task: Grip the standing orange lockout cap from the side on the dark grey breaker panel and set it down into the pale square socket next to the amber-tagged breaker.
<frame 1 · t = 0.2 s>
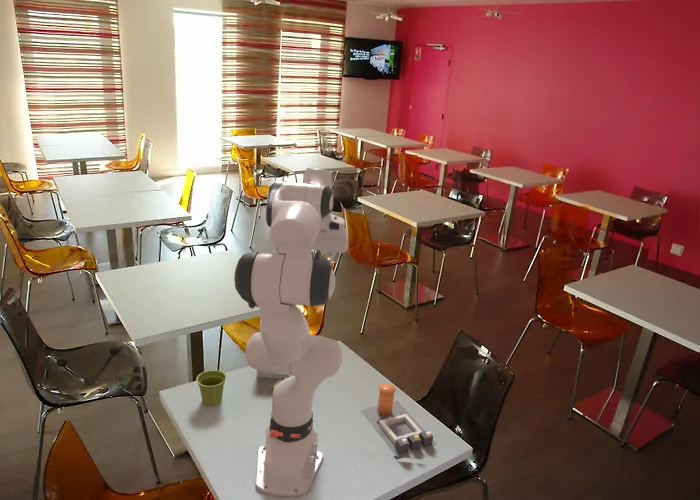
hand: (314, 263, 166), 48 cm above the table, tool pointing down, fingers open, 8 cm apart
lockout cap: (384, 411, 174), point 1 cm above the table, touching breaker panel
light bulb box: (272, 374, 192), on the table
decorated donut: (289, 393, 182), on the table
plant pot: (212, 401, 175), on the table
breaker panel: (396, 429, 167), on the table
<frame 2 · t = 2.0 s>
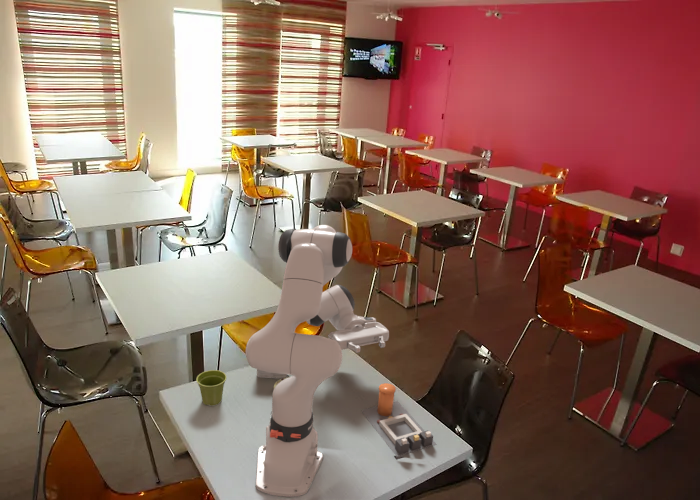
hand: (371, 348, 178), 18 cm above the table, tool horizontal, fingers open, 8 cm apart
nothing on the table moved.
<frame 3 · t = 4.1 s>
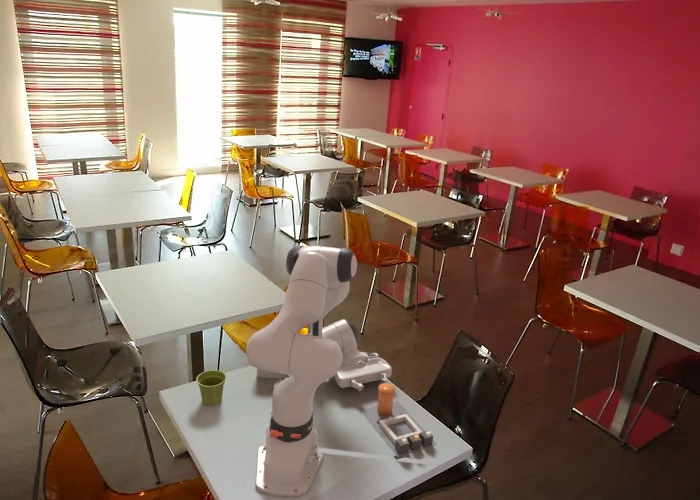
hand: (374, 385, 178), 6 cm above the table, tool horizontal, fingers open, 8 cm apart
nothing on the table moved.
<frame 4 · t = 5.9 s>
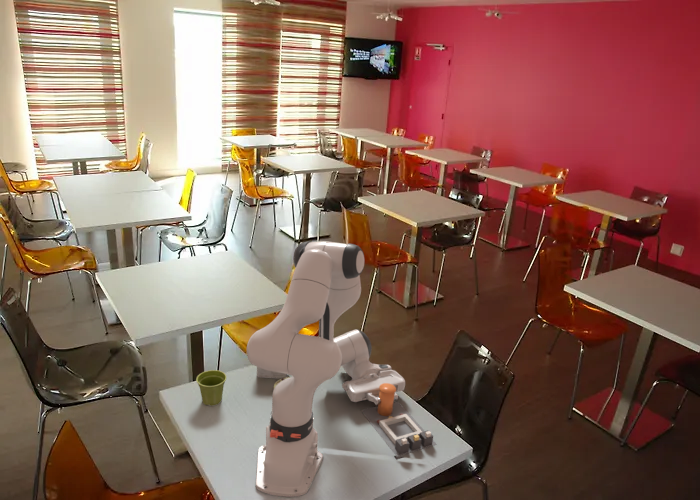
hand: (387, 400, 171), 6 cm above the table, tool horizontal, fingers open, 5 cm apart
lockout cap: (384, 411, 174), point 1 cm above the table, touching breaker panel, gripper
everything else where it was.
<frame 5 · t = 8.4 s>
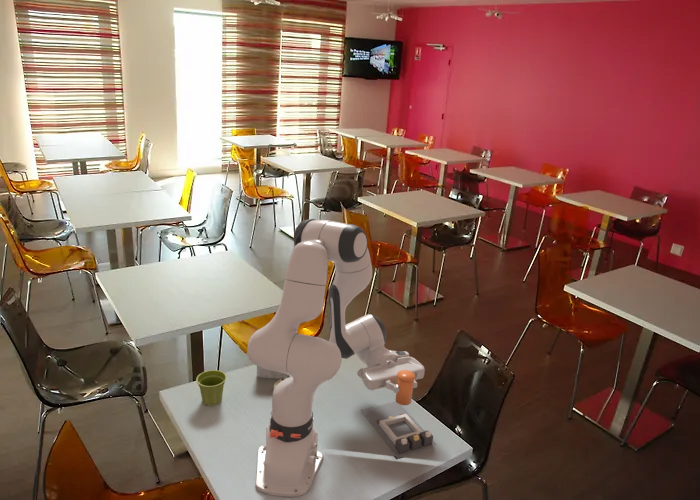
hand: (406, 388, 159), 17 cm above the table, tool horizontal, fingers closed on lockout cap, 5 cm apart
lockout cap: (403, 400, 162), point 12 cm above the table, touching gripper
everything else where it was.
when the fingers open (7 cm above the table, at t = 10.7 s): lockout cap drops 2 cm, resting on breaker panel.
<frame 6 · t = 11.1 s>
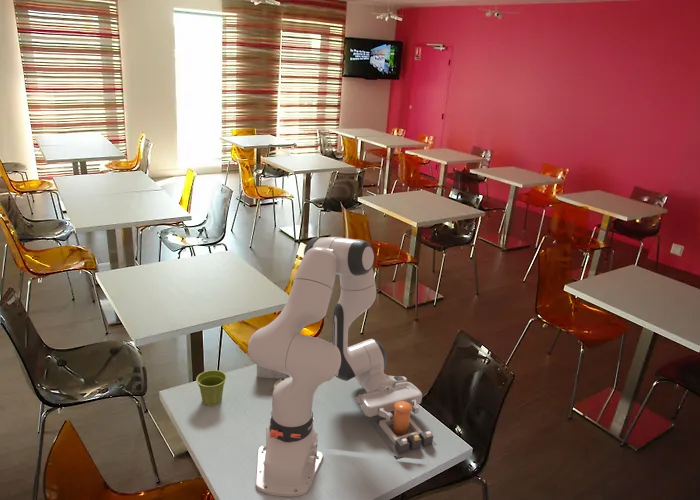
hand: (404, 414, 162), 7 cm above the table, tool horizontal, fingers open, 8 cm apart
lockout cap: (400, 430, 165), point 1 cm above the table, touching breaker panel
everything else where it was.
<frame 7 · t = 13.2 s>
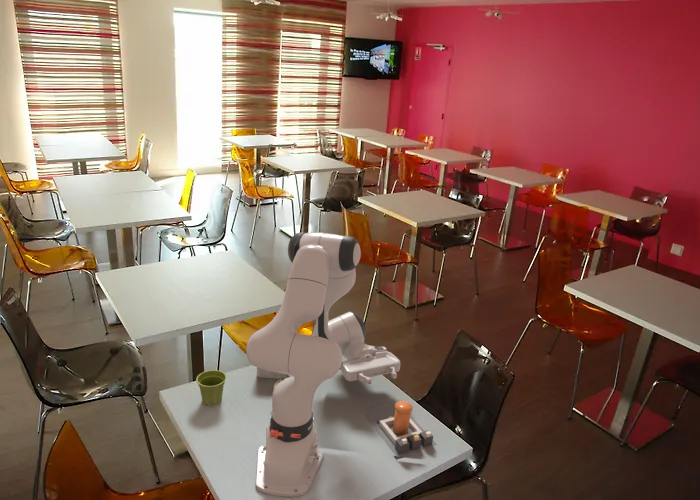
hand: (382, 379, 172), 12 cm above the table, tool horizontal, fingers open, 8 cm apart
nothing on the table moved.
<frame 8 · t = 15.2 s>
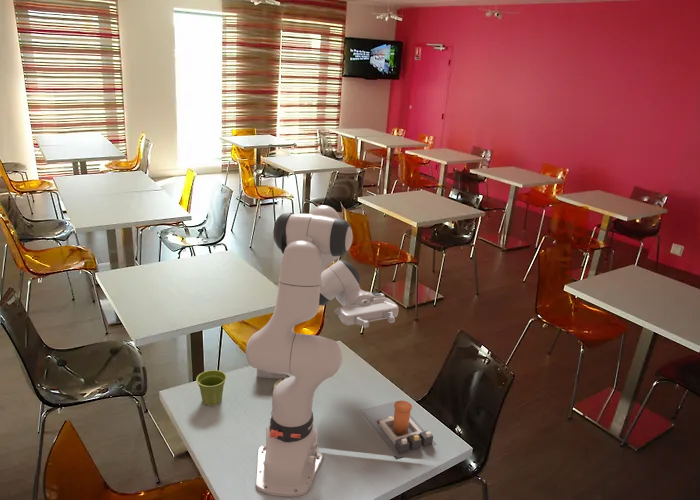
hand: (380, 323, 169), 30 cm above the table, tool horizontal, fingers open, 8 cm apart
nothing on the table moved.
at the end: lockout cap 0.0 cm from the target spot, point 1.1 cm above the table; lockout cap tilted 2°; the gripper is holding nothing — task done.
